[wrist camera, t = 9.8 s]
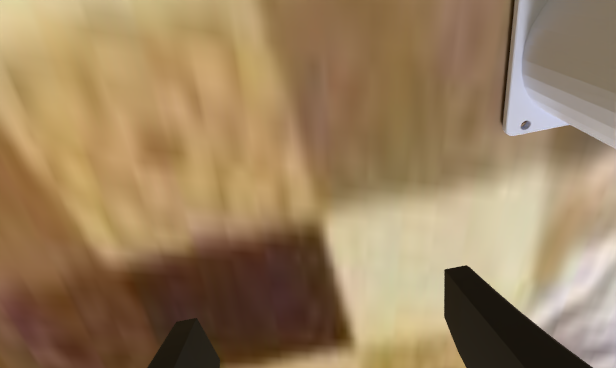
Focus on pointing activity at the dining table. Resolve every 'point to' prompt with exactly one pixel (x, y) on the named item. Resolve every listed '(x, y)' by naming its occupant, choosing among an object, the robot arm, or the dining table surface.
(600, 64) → the robot arm
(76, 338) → the dining table surface
